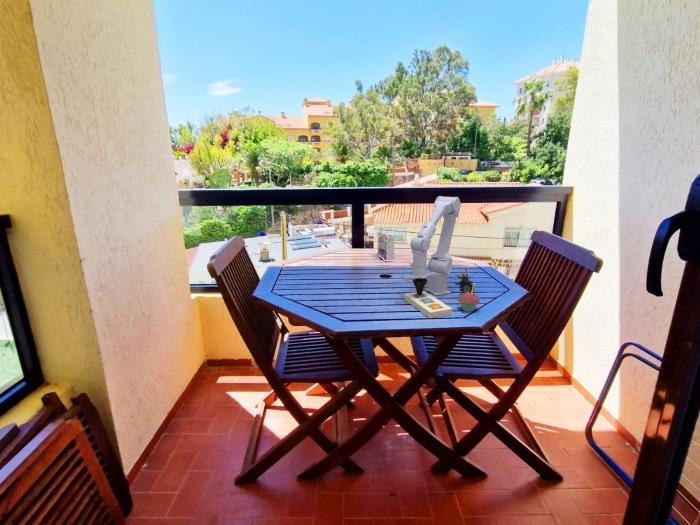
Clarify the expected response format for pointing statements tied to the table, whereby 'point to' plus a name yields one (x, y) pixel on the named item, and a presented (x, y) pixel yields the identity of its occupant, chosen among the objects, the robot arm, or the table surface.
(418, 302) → the button panel
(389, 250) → the candy box
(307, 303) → the table surface
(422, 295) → the grey button
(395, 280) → the table surface
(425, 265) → the robot arm
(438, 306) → the orange button
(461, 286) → the artificial flower
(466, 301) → the cupcake
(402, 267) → the table surface
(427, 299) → the teal button
